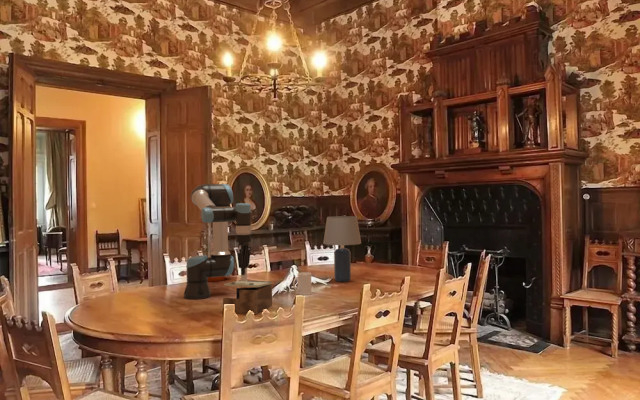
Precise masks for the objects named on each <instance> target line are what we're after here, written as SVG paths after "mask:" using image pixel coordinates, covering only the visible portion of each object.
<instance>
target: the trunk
mask: <svg viewBox="0 0 640 400" xmlns="http://www.w3.org/2000/svg"><path fill="white" fill-rule="evenodd" d="M256 288H257V290H239V299H237V298H236V297H235V298H234V297H232V298H231V297H222V306H223V305H224V304H235V312H236V313H235V314H244V315H247V314H246V313H247V312H248V311H249V310H251V311H253V312H254V313H255V314H256V315H259V314H260V313H262V312H263V311H262V310H263V309H266V310H267V309H269V308H271V307H272V306H273V284H272V283H271V284H269V285H265V286H261V287H256ZM255 314H254V315H255ZM256 315H255V316H256Z"/></svg>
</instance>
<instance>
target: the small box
mask: <svg viewBox="0 0 640 400" xmlns="http://www.w3.org/2000/svg"><path fill="white" fill-rule="evenodd" d="M239 290H257V288H256V287H237V288H236V297H235V298H237V299H239Z"/></svg>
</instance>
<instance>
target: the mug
mask: <svg viewBox="0 0 640 400" xmlns="http://www.w3.org/2000/svg"><path fill="white" fill-rule="evenodd" d="M296 280H297V287H296V286H295V281H296ZM292 283H293V287H294V289H295V290H297V291H296V292H297V295H298V296H309V295H312V294H313V293H312V273H311V272H298V273H297V275H296V276H295V278H294V280H293V282H292Z"/></svg>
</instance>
